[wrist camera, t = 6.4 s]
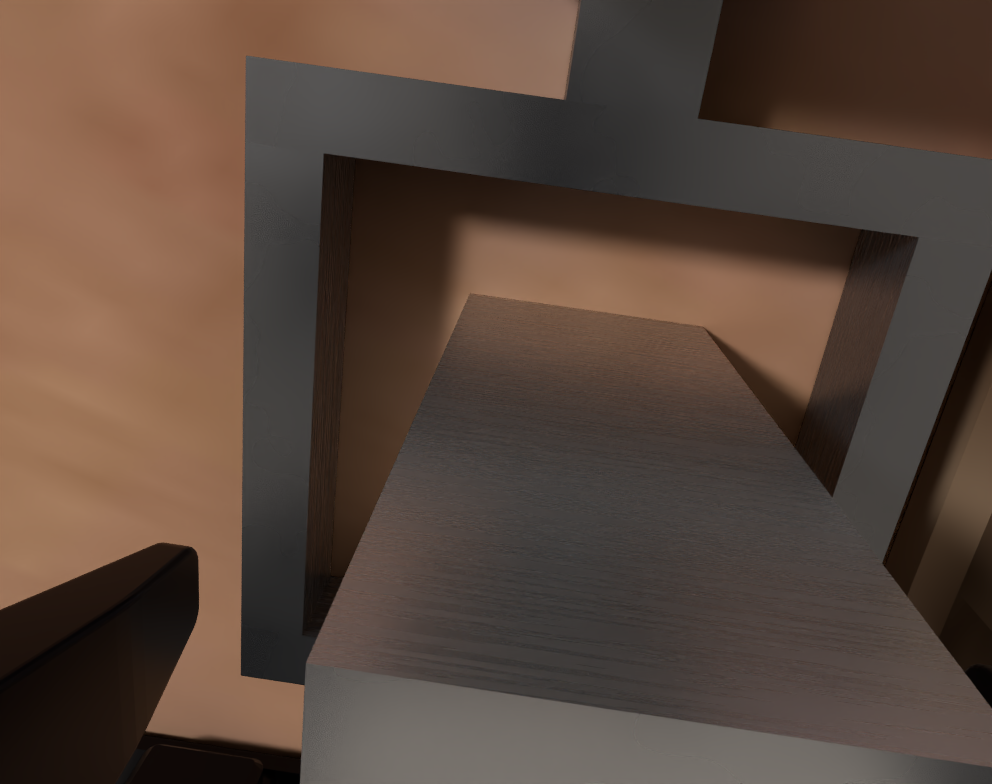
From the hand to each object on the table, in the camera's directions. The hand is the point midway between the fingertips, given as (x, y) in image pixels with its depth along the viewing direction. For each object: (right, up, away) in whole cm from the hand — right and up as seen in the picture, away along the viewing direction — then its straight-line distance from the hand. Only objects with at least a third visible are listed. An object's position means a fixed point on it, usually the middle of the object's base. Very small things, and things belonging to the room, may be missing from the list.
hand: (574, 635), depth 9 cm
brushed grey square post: (0, +2, +6) cm, 6 cm away
